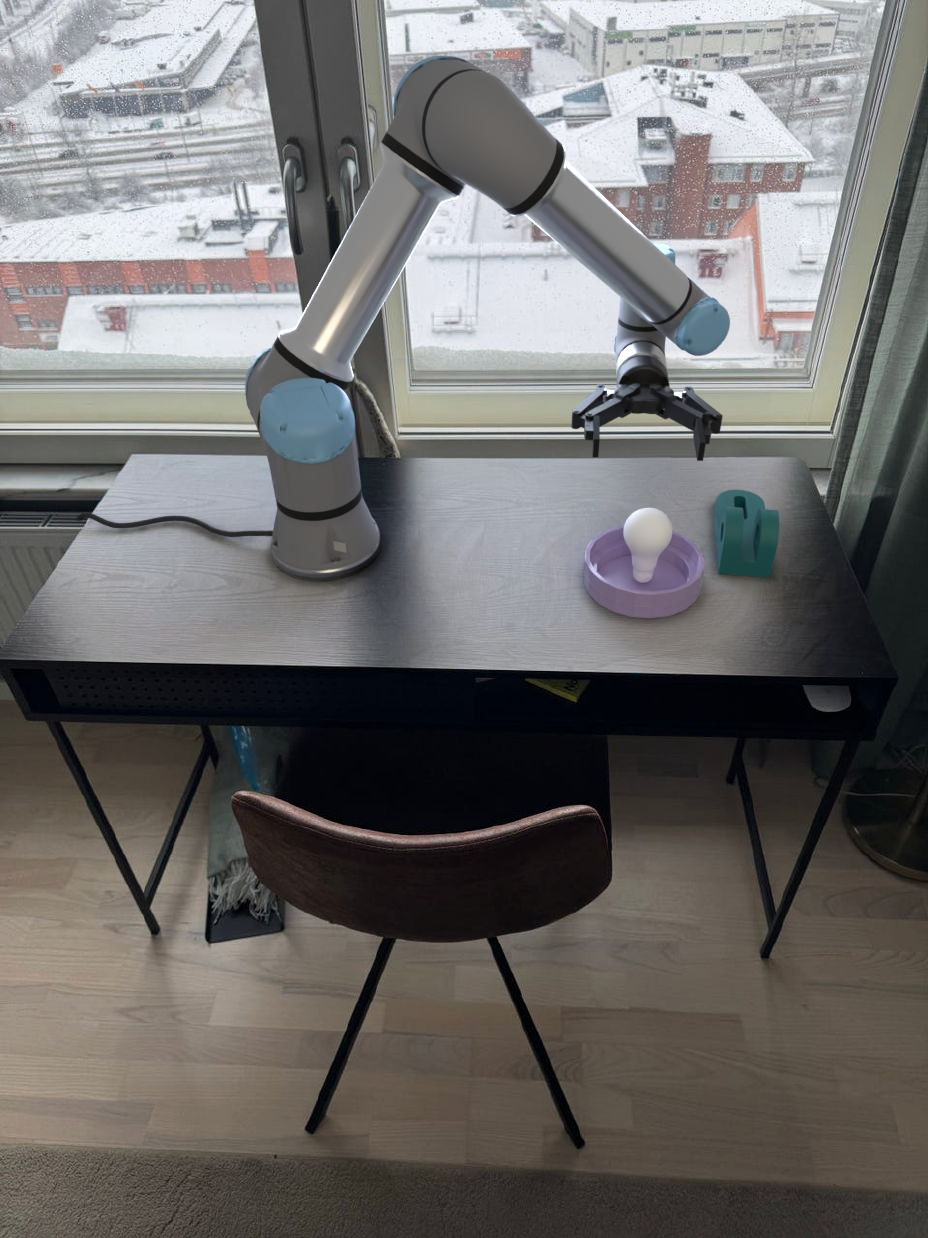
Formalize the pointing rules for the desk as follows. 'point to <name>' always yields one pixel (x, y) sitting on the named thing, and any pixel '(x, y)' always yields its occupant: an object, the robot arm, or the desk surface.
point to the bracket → (745, 534)
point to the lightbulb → (646, 540)
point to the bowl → (658, 597)
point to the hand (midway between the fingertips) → (648, 450)
